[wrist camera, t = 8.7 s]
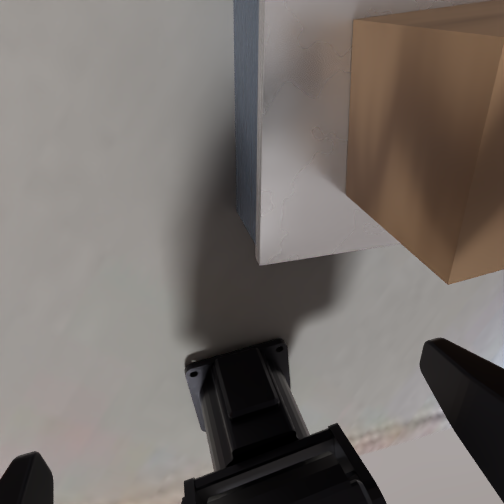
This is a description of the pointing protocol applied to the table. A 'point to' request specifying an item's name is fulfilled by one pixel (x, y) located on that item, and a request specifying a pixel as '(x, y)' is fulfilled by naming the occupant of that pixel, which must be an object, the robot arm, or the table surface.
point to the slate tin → (301, 124)
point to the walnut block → (432, 133)
